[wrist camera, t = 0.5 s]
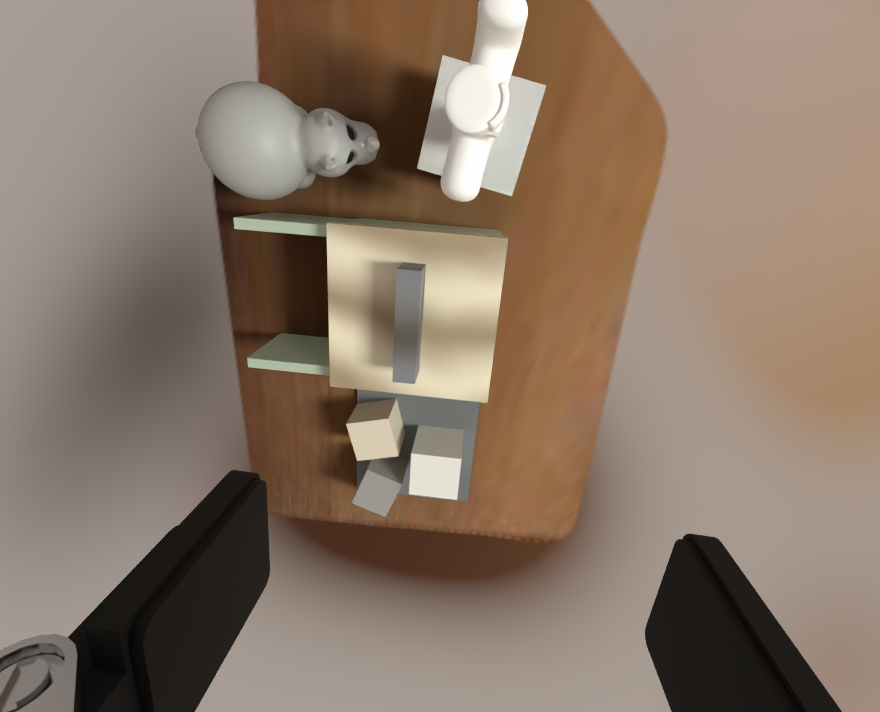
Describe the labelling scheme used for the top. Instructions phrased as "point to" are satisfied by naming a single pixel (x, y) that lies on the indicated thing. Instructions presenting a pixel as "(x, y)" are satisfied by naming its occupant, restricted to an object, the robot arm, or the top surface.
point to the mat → (430, 414)
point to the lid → (413, 309)
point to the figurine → (482, 109)
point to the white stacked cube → (436, 462)
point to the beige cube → (376, 429)
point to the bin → (304, 349)
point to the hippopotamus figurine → (277, 141)
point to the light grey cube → (381, 484)
